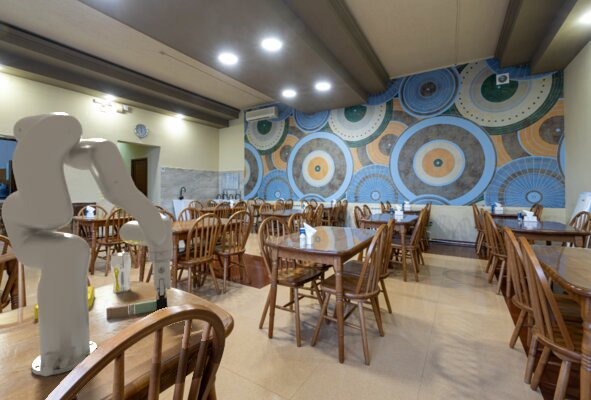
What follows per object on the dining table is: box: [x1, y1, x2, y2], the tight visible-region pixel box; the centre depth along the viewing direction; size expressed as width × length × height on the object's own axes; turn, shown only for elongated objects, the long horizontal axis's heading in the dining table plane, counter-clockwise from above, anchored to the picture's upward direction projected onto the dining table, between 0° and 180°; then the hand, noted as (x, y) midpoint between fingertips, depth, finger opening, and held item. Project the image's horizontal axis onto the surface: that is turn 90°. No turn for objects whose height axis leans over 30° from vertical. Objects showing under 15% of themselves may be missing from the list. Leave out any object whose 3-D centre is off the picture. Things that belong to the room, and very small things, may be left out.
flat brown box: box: [105, 303, 135, 320], centre depth 96 cm, size 19×19×4 cm
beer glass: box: [110, 251, 132, 294], centre depth 114 cm, size 7×7×15 cm
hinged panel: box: [134, 292, 160, 315], centre depth 95 cm, size 10×3×6 cm, turn 117°
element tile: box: [33, 285, 96, 321], centre depth 99 cm, size 15×15×5 cm
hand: (161, 307), depth 97 cm, fingers closed on hinged panel, 3 cm apart
